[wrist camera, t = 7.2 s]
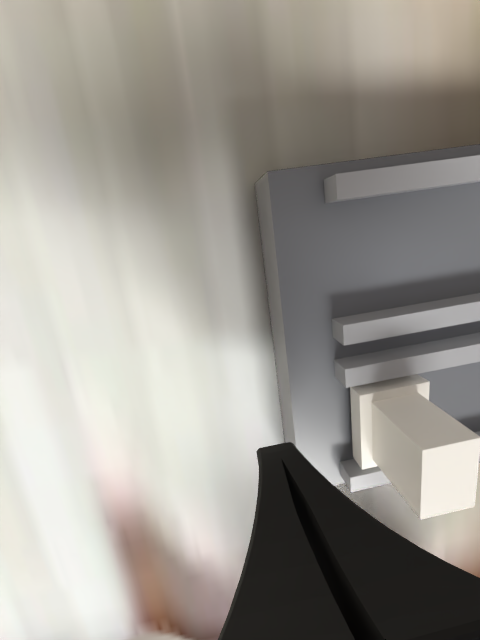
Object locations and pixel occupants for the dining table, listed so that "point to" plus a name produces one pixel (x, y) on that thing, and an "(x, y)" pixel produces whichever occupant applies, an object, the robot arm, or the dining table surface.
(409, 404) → the tab
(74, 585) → the dining table surface
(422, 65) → the dining table surface
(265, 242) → the switch bank
